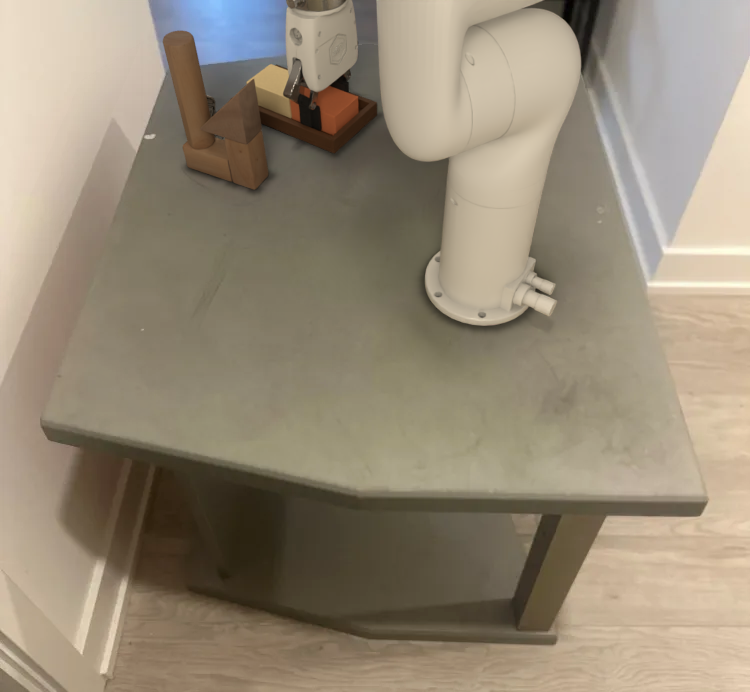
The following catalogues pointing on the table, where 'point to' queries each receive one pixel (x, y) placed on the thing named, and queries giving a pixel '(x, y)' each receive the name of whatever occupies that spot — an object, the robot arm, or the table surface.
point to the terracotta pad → (331, 108)
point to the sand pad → (272, 89)
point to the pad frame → (321, 138)
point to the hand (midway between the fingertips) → (325, 115)
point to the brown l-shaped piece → (216, 120)
